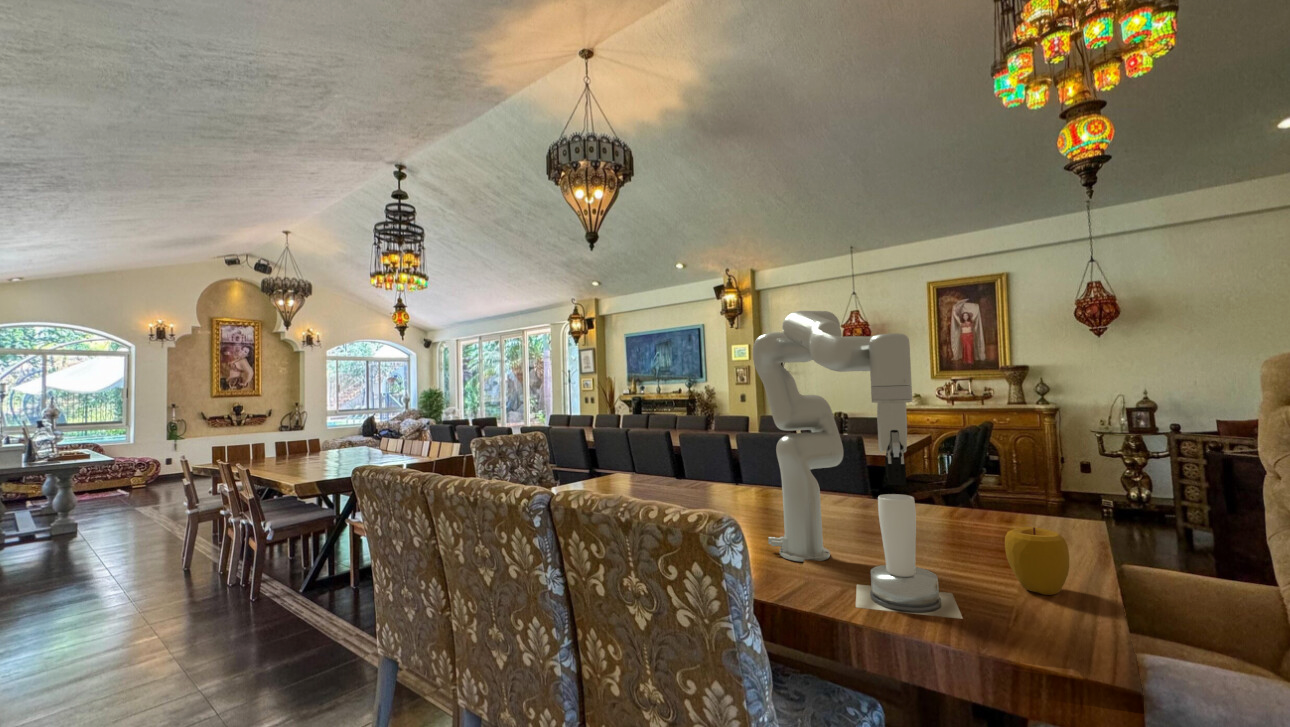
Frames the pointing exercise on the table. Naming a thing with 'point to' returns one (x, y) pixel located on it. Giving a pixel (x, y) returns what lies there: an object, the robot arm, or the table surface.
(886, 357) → the robot arm
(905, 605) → the grey short round cylinder
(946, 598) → the board
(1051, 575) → the apple
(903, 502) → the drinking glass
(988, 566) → the table surface
